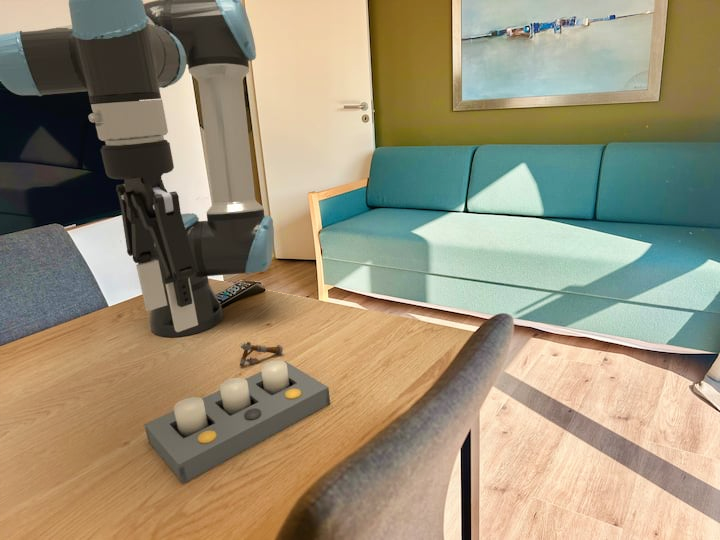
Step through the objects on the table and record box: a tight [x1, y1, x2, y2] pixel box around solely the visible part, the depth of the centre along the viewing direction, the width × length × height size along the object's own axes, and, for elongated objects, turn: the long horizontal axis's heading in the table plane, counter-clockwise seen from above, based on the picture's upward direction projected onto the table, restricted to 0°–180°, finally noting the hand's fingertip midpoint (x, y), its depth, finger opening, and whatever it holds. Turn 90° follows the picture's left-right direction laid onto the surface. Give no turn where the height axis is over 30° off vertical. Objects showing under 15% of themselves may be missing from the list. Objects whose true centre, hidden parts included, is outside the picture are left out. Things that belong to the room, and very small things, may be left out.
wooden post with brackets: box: [239, 341, 284, 367], centre depth 94 cm, size 2×8×4 cm, turn 124°
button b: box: [219, 377, 252, 416], centre depth 77 cm, size 4×4×4 cm
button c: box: [260, 359, 291, 396], centre depth 81 cm, size 4×4×4 cm
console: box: [144, 360, 331, 485], centre depth 77 cm, size 12×24×3 cm, turn 131°
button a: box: [173, 396, 209, 438], centre depth 73 cm, size 4×4×4 cm
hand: (170, 317), depth 67 cm, fingers open, 9 cm apart
